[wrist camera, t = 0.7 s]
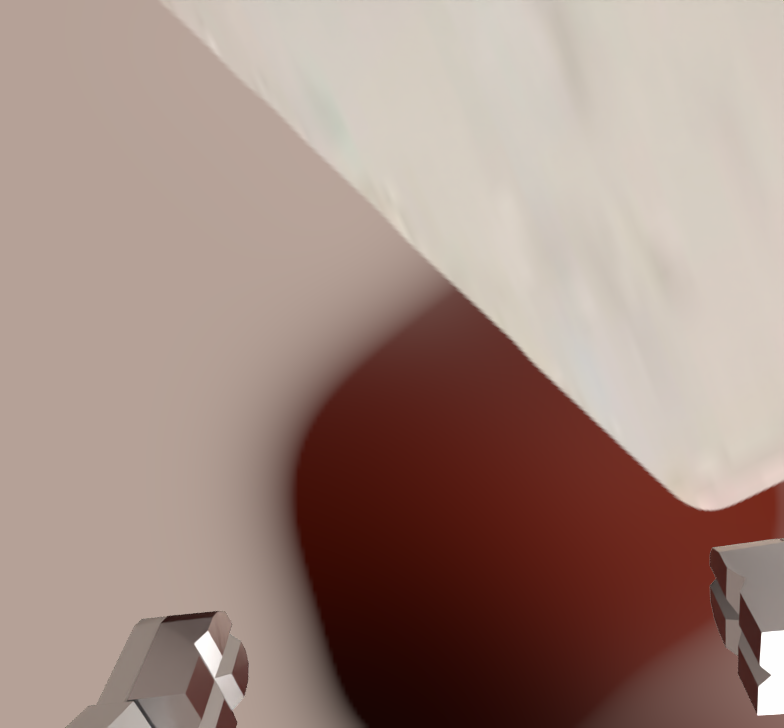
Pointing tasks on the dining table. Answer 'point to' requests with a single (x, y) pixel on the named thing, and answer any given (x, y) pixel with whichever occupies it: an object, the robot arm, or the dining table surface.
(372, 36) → the dining table surface
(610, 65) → the dining table surface
